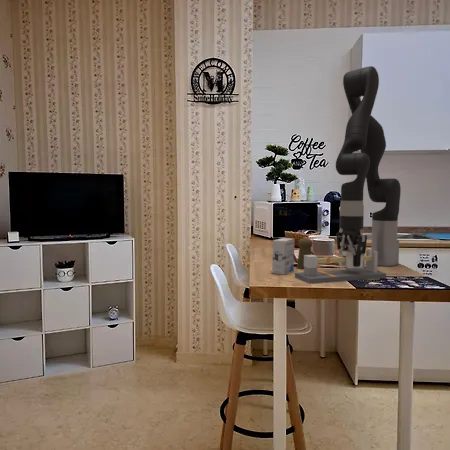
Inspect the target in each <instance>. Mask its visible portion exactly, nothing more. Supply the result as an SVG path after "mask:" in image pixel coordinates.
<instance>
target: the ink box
mask: <svg viewBox="0 0 450 450" xmlns="http://www.w3.org/2000/svg"><path fill="white" fill-rule="evenodd" d="M271 267H272V269H271V272H272V274H275V275H283V276H284V275H287V274H289V273H292V272H294V271H295V270H294V269H295V238H290V237H287V238H286V237H281V238H278V239H277V238H276V239H273V240H272V266H271Z"/></svg>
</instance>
